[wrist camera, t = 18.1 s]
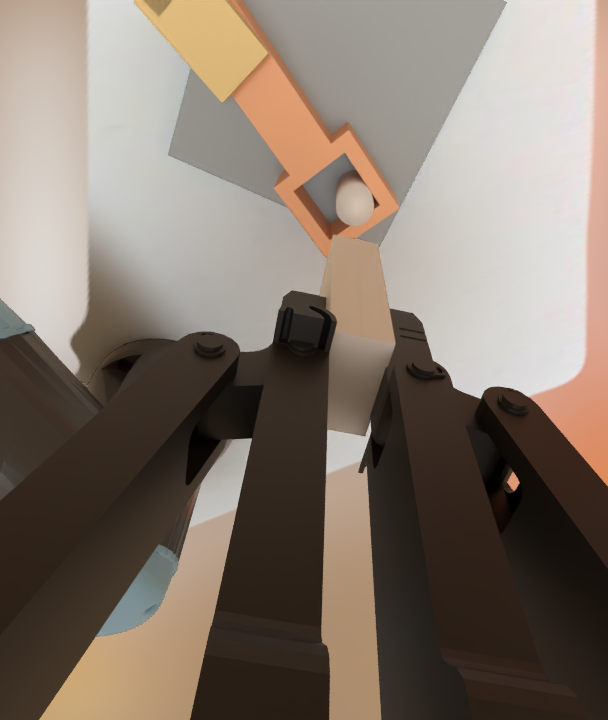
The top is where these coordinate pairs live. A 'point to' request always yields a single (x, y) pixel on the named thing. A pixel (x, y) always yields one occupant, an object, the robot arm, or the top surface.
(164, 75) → the top surface
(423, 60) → the board
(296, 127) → the link
